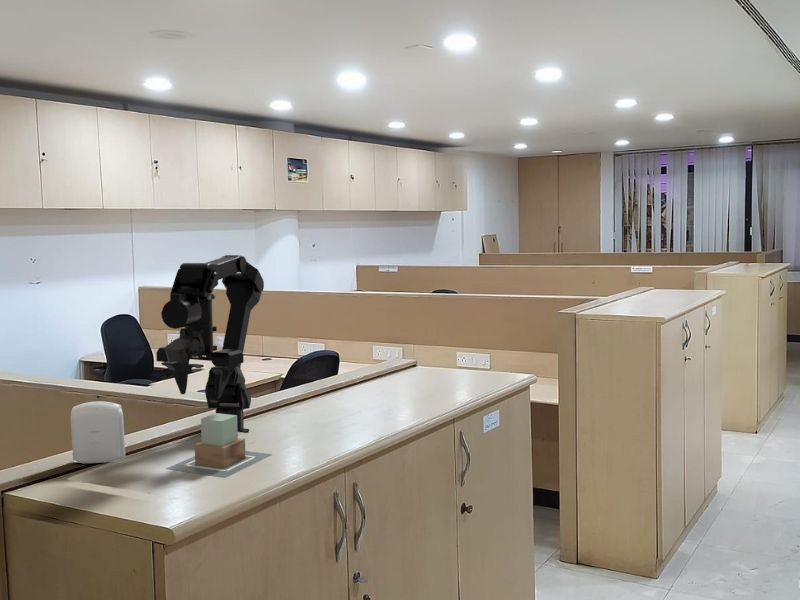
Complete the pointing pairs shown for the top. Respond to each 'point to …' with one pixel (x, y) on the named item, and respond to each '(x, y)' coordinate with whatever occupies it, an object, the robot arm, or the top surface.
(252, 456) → the board
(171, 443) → the top surface
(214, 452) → the walnut block
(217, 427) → the sage cube
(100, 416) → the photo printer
